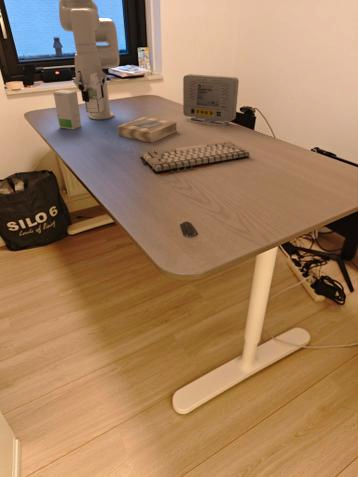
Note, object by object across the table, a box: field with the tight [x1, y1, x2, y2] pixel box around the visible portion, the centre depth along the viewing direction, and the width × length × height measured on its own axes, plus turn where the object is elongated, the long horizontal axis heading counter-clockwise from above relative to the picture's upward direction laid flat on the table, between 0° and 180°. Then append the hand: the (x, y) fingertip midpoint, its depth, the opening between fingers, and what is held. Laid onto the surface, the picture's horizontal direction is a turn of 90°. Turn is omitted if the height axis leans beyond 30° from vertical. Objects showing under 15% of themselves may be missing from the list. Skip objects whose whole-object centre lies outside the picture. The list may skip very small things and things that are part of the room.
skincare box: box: [53, 89, 82, 130], centre depth 152 cm, size 8×7×16 cm
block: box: [179, 221, 199, 238], centre depth 82 cm, size 4×6×2 cm, turn 16°
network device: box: [182, 73, 240, 127], centre depth 156 cm, size 26×9×20 cm, turn 62°
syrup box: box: [81, 73, 104, 114], centre depth 133 cm, size 6×6×14 cm
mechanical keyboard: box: [139, 140, 251, 177], centre depth 121 cm, size 38×19×3 cm, turn 114°
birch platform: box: [117, 116, 177, 143], centre depth 146 cm, size 18×18×4 cm
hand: (93, 99), depth 135 cm, fingers closed on syrup box, 7 cm apart
